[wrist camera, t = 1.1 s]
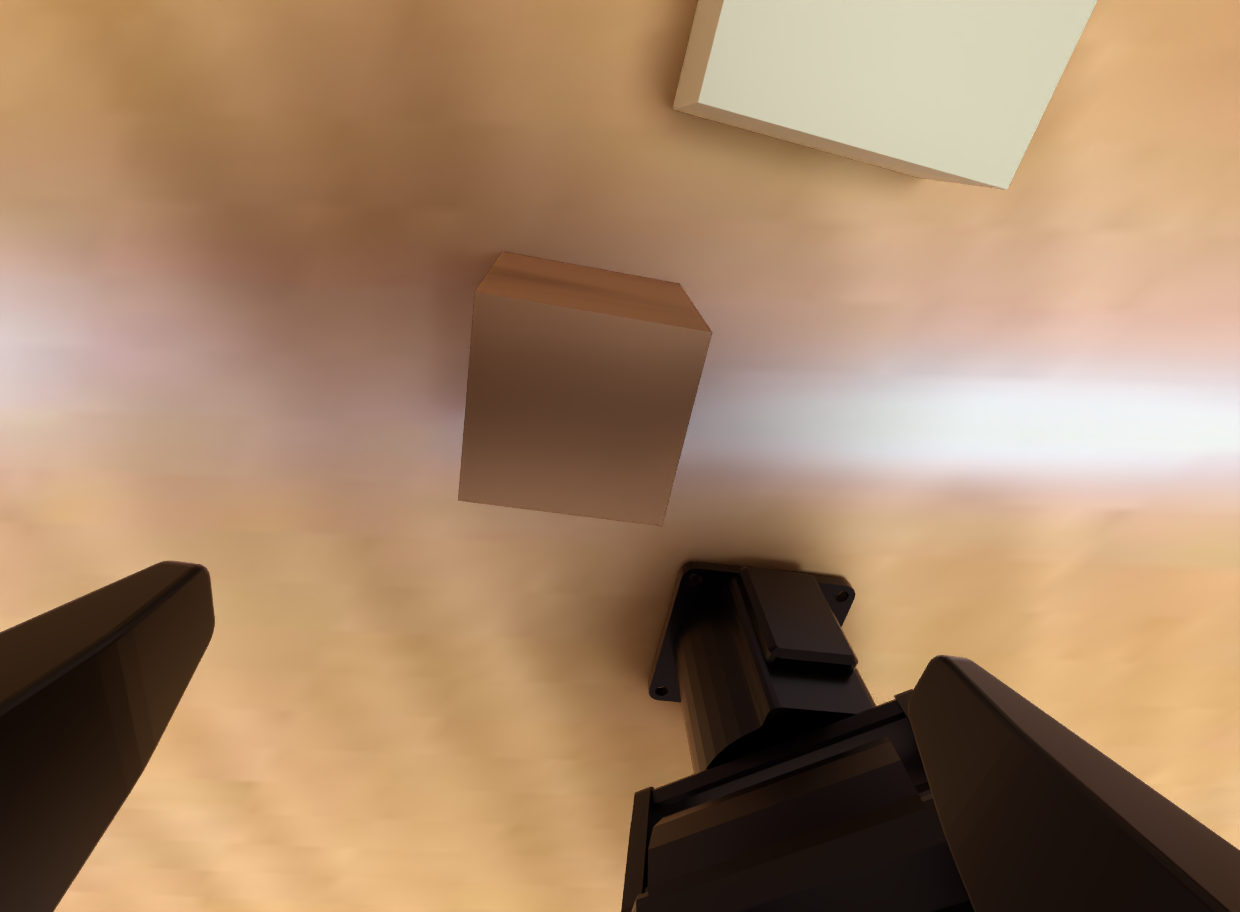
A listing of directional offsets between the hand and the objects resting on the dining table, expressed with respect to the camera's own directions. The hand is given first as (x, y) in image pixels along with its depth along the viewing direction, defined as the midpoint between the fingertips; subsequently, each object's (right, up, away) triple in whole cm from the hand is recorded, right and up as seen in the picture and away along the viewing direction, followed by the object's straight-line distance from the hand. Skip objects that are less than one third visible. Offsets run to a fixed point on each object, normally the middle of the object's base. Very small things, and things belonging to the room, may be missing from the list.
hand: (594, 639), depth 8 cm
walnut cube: (-1, +5, +11) cm, 12 cm away
